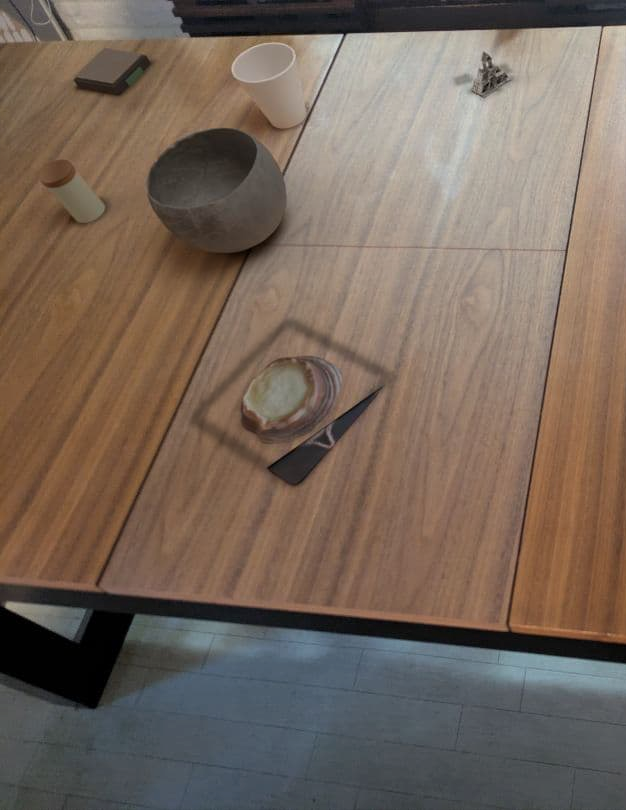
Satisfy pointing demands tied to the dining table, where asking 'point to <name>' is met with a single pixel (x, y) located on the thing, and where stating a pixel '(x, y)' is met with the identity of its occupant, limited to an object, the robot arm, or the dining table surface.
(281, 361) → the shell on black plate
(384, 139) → the dining table surface
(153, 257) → the dining table surface
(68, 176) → the jar
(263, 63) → the cup
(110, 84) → the scale
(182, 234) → the bowl
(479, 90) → the stone castle ruin model
